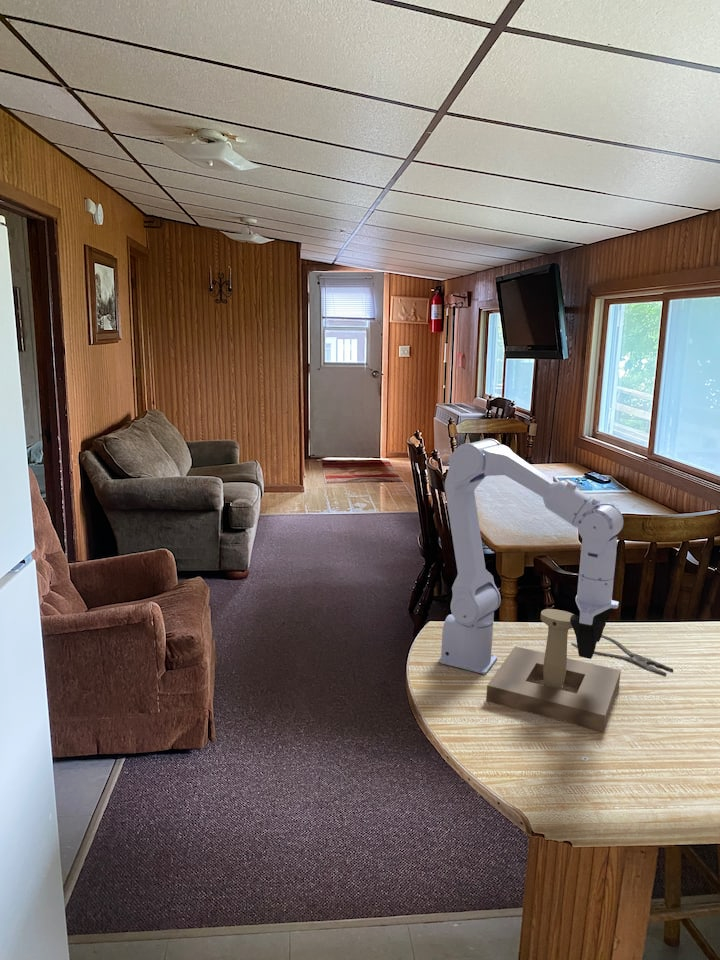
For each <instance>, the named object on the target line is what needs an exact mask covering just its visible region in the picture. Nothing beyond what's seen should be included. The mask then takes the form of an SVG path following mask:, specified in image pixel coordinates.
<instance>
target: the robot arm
mask: <svg viewBox="0 0 720 960" xmlns="http://www.w3.org/2000/svg"><path fill="white" fill-rule="evenodd" d="M448 462H449V466H448V470H447V474H446V477H445V481H444V491H445V498H446V504H447V505H446V506H447V511H448V517H449V524H450V525H449V526H450V530H451V536H452V537H451V538H452V545H453V550H454V558H455V563H456V564H455V565H456V570H457V575H456V578H455V580H454V582H453V584H452V587H451V591H452V598H451V601H450V606H449V607H450V611H451V614H448V615H447V616H446V618H445V620H444V623H443V627H442V633H441V652H440V660H439V663H440V664H443V665H446V666H451V667H455V668H458V669H459V668H460V669H462V670H467V671H470V672H475V673H477V674H482V675H485V674H487V673H488V672H489V670H490V669H491V667H493V665H494V664H495V662H496V661H497V660H498V656H497V655H495V654H492V648H493V635H494V634H493V633H494V622H495V621H494V620H495V619H494V618H495V612H496V610H498V608H499V607H500V605H501V603H502V601H501V600H502V599H501V593H500V591H499V589H498V587H497V585H496V584H495V580H494V575H492V573H491V572H489V571H488V569H486V562H485V555H484V548H483V547H484V546H483V541H482V534H481V528H480V527H481V526H480V522H479V515H478V514H479V513H478V507H477V500H476V495H475V494H476V493H475V489H477V487H478V486H479V485H480V483H482V481H483V480H484V479H485V478H486V477H487V476H488V477H489V476H490V477H492V476H506V477H507V478H508V479H511V480H513V481H514V482H516V483H518V484H519V485H521V486H523V487H525V488H526V489H527V490H529V491H531V492H533V493H534V494H537V495H538V496H540V497H541V498H542V500H543V505H544V506H545V508H546V509H547V510H549V511H551V512H552V513H554V514H555V515H556V516H558V517H559V518H561V519H563V520H564V521H566V522H567V523H569V524H570V525H572V526H573V527H574V528H576V529H577V531H578V534H579V536H580V537H581V539H582V541H581V548H580V560H579V568H578V569H579V571H578V580H577V591H576V592H577V594H576V596H575V603H576V606H577V608H578V610H579V615H578V614H577V615H576V614H574V615H572V616H571V618H570V623H571V625H572V627H573V628H572V629H573V631H574V635H575V639H576V645H577V647H576V649H577V653H578V657H579V658H580V657H581V658H584V659H589V660H591V659H592V658H593V656H594V655H595V654H594V651H595V650H596V646H597V643H599V642H600V640H601V639H602V637H601V636H602V635H603V633H604V629H605V626H606V624H607V623H606V622H607V619H608V616H609V615H610V614H611V612H612V610H613V609H614V610H615V609H618V608H619V606H620V605H619V604H620V602H619V601H617V600H613V591H614V579H615V572H616V571H615V569H616V561H617V545H618V544H617V543H618V536H616V535H618V534H619V533H620V532H621V531H622V529H623V528H624V516H623V514H622V512H621V510H619V509H618V508H617V507H616V506H615V505H614V504H612V503H609V502H602V503H601V500H600V499H599V498H598V497H594V498H593V497H591V496H589V495H588V494H587V493H585V492H583V491H582V490H581V489H579V488H577V486H578V484H577V483H576V482H574V481H572V480H570V481H567V480H565V479H564V480H558V481H553V480H552V479H551V478H550V477H548V476H547V475H545V474H544V473H543V472H541V471H540V470H538V469H537V468H536V467H534V466H532V465H531V463H529V462H527V461H526V460H524V459H523V458H522V457H520V456H519V455H518V454H516V453H515V452H514V451H513V450H512V449H511V448H510V447H509V446H507V445H505V444H502V443H500V442H499V441H498V440H496V439H494V438H484V439H481V440H479V441H478V440H477V441H474V442H471V443H470V442H469V443H467V442H466V443H462V444H459V445H458V446H457V447H456V448H455V450H454V451H453V452H452V453H451V454H450V455H449V456H448Z"/></svg>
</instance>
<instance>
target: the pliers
mask: <svg viewBox="0 0 720 960" xmlns="http://www.w3.org/2000/svg"><path fill="white" fill-rule="evenodd" d="M602 638H603V639H605V640H607V641H610V642H611V643H613V644H615V645H616V646H617V647H619V648H620V650H622V651H623V653H625V654H626V653H627V656H624V655H620V654H614V653H606V652H603V651H602V652H601V651H600V652H599V651H597V650H596V651H594V654H593V655H598V656H602V655H603V657H607V656H610V657H609V658H613V657H615V658H614V659H619V660H622V659H623V660H624V661H625V662H629V663H632V664H635V665H637V666H638V667H640V668H643V669H645V670H646V671H649V672H652V673H656V674H659V675H662V676H667V672H665V671H663V670H666V671H669V672H674V669H673V668H672V667H670V666H667V665H664V664H662V663H660V662H657V661H655V660H652V659H651V658H648V657H644V656H642V655H640V654H636V653H634V652H632V651H630V649H628V648H627V647H625V646H624V645H623V644H622V643H621V642H619V641H618V640H616V639H613V638H612V637H609V636H607V635H603V634H602V636H601V639H602ZM571 645H572V646H573V647H575V648H577V643H575V642H571ZM658 668H660V669H658ZM661 668H662V669H663V670H661Z"/></svg>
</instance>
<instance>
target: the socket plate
mask: <svg viewBox="0 0 720 960" xmlns="http://www.w3.org/2000/svg"><path fill="white" fill-rule="evenodd" d="M544 658H545V652H542V651H541V652H540V651H538V650H532V649H527V648H523V647H520V646H514V647H513V648H512V650H511V651H510V653H509V654H508V656H507V657H506V658H505V660H504V661H503V662H502V664H501V666H500V667H499V668H498V669H497V670H496V672H495V674H494V675H493V677H492V678H491V679H490V681H489V682H488V683H487V686H486V696H485V697H486V698H485V701H486V702H490V703H493V704H497V705H501V706H505V707H508V708H512V709H515V710H519V711H523V712H527V713H530V714H534V715H539V716H542V717H546V718H548V719H549V718H550V719H552V720H556V721H560V722H564V723H568V724H571V725H574V726H580V727H583V728H585V729H587V728H588V729H590V730H593V731H598V732H602V733H604V732H605V728H606V726H607V722H608V720H609V717H610V713H611V710H612V709H613V705H614V701H615V699H616V696H617V693H618V690H619V687H620V680H621V673H622V672H621V669H617V668H613V667H607V666H605V665H600V664H599V665H598V664H594V663H590V662H585V661H582V660H577V659H572V658H569V657H567V667H566V675H565V680H564V684H563V686H564V685H565V686H569V687H573V688H577V689H578V691H577V692H572V691H567V690H564V689H563V690H560V689H556V688H552V687H548V686H544V684H539V683H535V682H533V681H534V680H535V679H539V680H543V681H544V677H543V668H544Z"/></svg>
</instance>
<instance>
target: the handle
mask: <svg viewBox="0 0 720 960" xmlns="http://www.w3.org/2000/svg"><path fill="white" fill-rule="evenodd" d="M572 615H575V614H574V613H572V612H570V611H567V610H560V609H556V608H555V609H554V608H545V609H542V610H541V612H540V621H541V622H542V623H544V624H545V625H547V626H548V627H547V629H548V630H547V640H546V646H545V650H544V651H545V652H544V653H545V658H544V668H543V677H544V680H543V683H544V684H543V685H544V686H548V687H552V688H556V689H560V690H564V680H565V675H566V667H567V658H568V635H569V634H568V632H569V630H571V629H573V627H572V625H571V623H570V618H571V616H572Z"/></svg>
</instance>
